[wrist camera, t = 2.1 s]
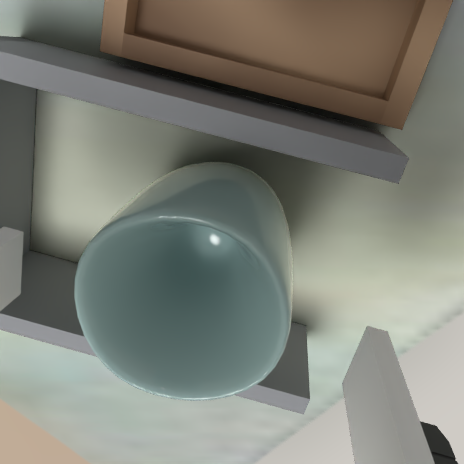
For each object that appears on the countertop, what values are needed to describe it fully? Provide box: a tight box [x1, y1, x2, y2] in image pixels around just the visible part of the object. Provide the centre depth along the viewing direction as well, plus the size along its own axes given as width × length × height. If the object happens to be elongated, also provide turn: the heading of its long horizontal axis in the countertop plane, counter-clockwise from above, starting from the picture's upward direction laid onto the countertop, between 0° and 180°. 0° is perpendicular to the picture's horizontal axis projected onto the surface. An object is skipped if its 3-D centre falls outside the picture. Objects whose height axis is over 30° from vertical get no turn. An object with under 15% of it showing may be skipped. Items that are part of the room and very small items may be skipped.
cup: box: [74, 162, 293, 401], centre depth 19 cm, size 8×8×10 cm
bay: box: [0, 36, 409, 414], centre depth 21 cm, size 13×18×6 cm
